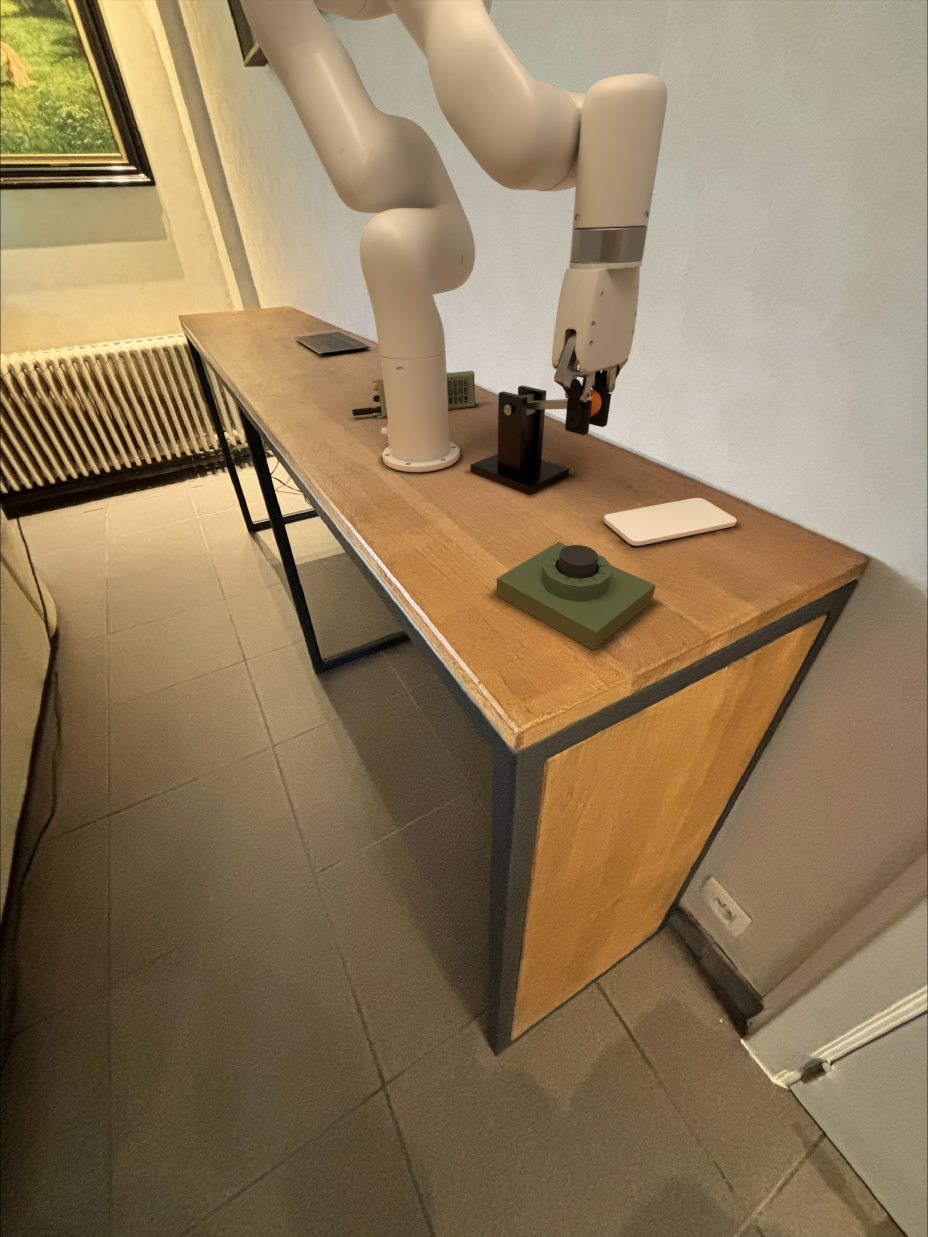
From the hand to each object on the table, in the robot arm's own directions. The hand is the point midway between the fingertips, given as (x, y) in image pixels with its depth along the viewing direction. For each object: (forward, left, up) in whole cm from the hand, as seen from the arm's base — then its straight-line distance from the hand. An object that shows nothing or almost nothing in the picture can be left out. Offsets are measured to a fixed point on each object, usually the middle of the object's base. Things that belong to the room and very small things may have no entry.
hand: (586, 426), depth 63 cm
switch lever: (-5, 0, 0) cm, 5 cm away
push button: (+14, -20, -6) cm, 25 cm away
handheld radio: (-47, +9, -10) cm, 49 cm away
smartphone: (+13, +1, -9) cm, 16 cm away
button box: (+14, -20, -9) cm, 26 cm away
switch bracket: (-11, 0, -9) cm, 14 cm away
